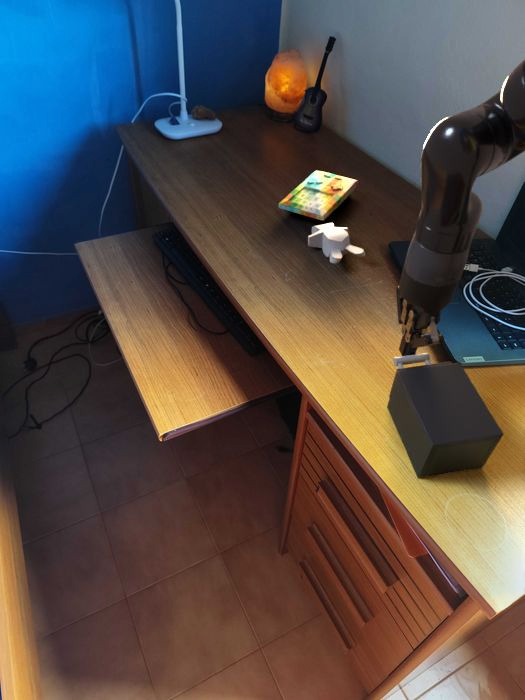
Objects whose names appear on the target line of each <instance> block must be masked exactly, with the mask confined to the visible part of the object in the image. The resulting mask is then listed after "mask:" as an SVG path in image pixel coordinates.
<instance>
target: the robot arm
mask: <svg viewBox="0 0 525 700" xmlns="http://www.w3.org/2000/svg"><path fill="white" fill-rule="evenodd" d="M524 152H525V59H523V60H522V61H521V62H520V63H518V65H517V66H516V67H515V68H514V69H513V70H512V71H511V72H510V73H509V74H508V76H507V77H506V79H505V80H504V82H503V85H502V88H501V89H500V90H498V91H497V92H496V93H495V94H494V95H492V96H491V97H489V98H488V99H487V100H485V101H483V102H482V103H480V104H478V105H476V106H474V107H471V108H469V109H466V110H463V111H460V112H458V113H455V114H452V115H450V116H447V117H445V118H443V119H442V120H440V121H439V122H438V123H436V125H435V126H433V128H432V129H431V130H430V133H429V134H428V136H427V138H426V140H425V142H424V144H423V148H422V150H421V154H420V155H421V156H420V200H421V207H420V212H419V214H418V218H417V222H416V225H415V230H414V233H413V236H412V237H411V238H412V239H411V240H410V243H409V246H408V249H407V252H406V256H405V260H404V263H403V264H404V265H403V268H402V272H401V276H400V278H399V279H400V280H399V283H398V285H397V286H396V289H395V294H396V308H397V309H396V310H397V321H398V324H399V325H401V329H400V332H401V334H402V336H401V339H400V343H399V347H398V351H399V353H400V356H407V355H414V354H417V350H418V348H425V347H431V346H435V345H440V344H444V342H445V336H444V334H439V332H438V327H437V325H439V323H440V321H441V312H442V310H443V309H444V308H446V307H447V306H448V305H449V304H450V303H452V301H453V299H454V297H455V294H456V291H457V289H458V286H459V283H460V281H461V278H462V275H463V272H464V269H465V268H466V265H467V261H468V258H469V253H470V248H471V246H472V244H473V240H474V237H475V234H476V231H477V229H478V226H479V223H480V220H481V217H482V213H483V202H482V200H481V198H480V197H479V195H478V194H476V193H475V192H474V191H473V187H474V185H475V183H476V181H477V179H478V178H480V177H481V176H484V175H487V174H488V173H490V172H492V171H494V170H496V169H497V170H498V168H500V167H502V166H504V165H505V164H507V163H509V162H510V161H512V160H513V159H515V158H517V157H519V156H520V155H522V154H523V153H524Z"/></svg>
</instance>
